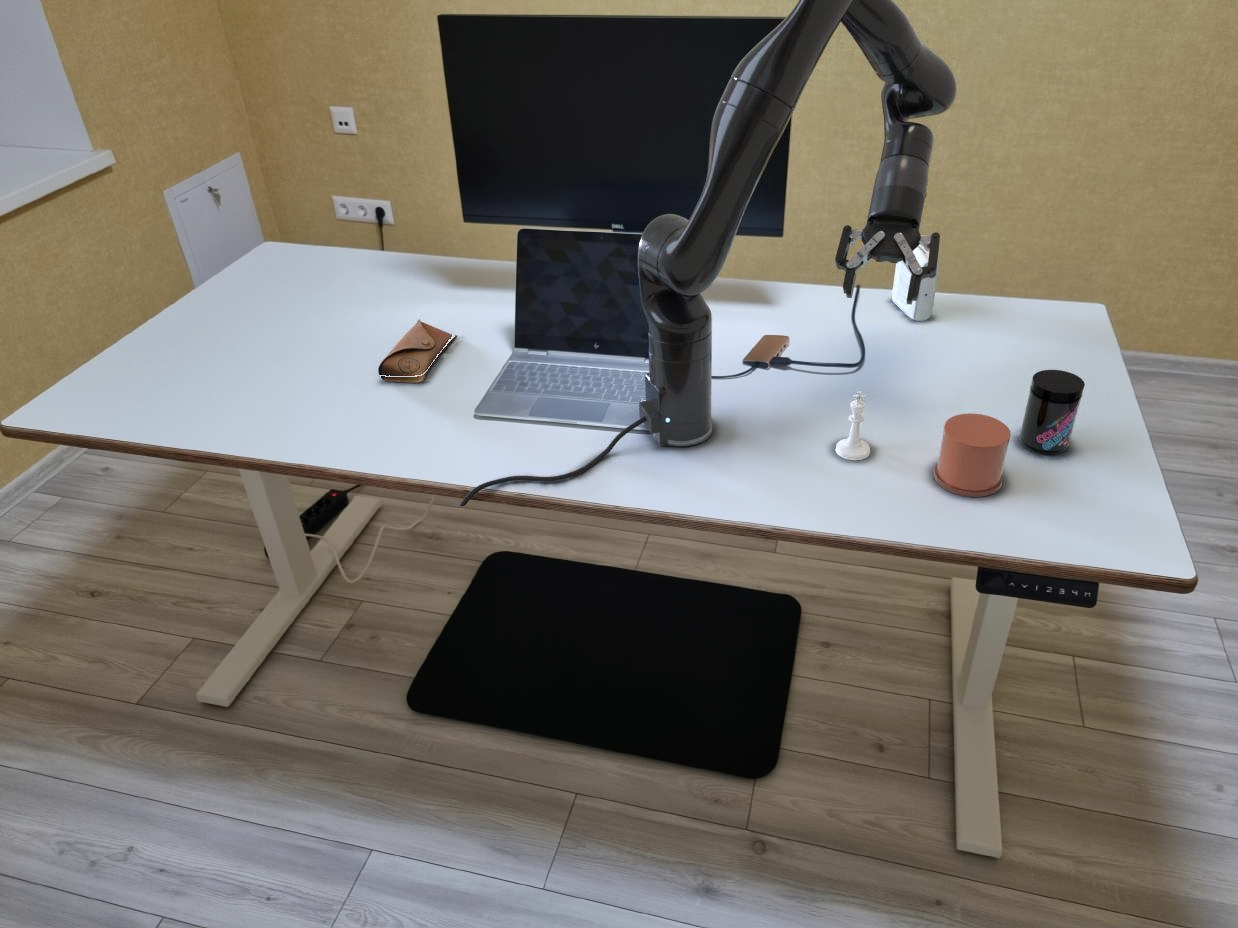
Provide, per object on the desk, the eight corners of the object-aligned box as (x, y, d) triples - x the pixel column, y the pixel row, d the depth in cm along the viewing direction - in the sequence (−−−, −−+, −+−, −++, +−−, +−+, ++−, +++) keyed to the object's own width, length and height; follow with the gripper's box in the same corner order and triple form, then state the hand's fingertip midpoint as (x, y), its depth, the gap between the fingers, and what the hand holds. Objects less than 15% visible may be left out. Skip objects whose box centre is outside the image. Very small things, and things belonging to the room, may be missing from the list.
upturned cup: (959, 503, 124) (969, 454, 120) (920, 468, 131) (928, 420, 127) (1016, 488, 126) (1027, 439, 122) (974, 454, 133) (984, 406, 129)
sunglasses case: (425, 381, 158) (400, 350, 156) (396, 397, 162) (371, 368, 159) (460, 334, 173) (437, 305, 170) (432, 350, 176) (410, 322, 173)
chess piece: (870, 461, 133) (877, 402, 127) (835, 459, 134) (841, 399, 128) (869, 442, 137) (876, 384, 131) (835, 440, 138) (841, 382, 132)
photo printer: (934, 319, 169) (944, 255, 162) (912, 323, 168) (921, 258, 161) (909, 297, 177) (917, 235, 170) (888, 300, 177) (895, 238, 170)
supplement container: (1022, 455, 133) (1036, 392, 127) (1014, 429, 138) (1028, 368, 132) (1072, 458, 131) (1089, 394, 125) (1063, 432, 137) (1079, 370, 131)
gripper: (848, 180, 135) (827, 284, 133) (950, 186, 130) (930, 295, 128) (851, 203, 142) (831, 303, 140) (948, 210, 137) (929, 314, 135)
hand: (878, 299), depth 134 cm, fingers open, 8 cm apart
